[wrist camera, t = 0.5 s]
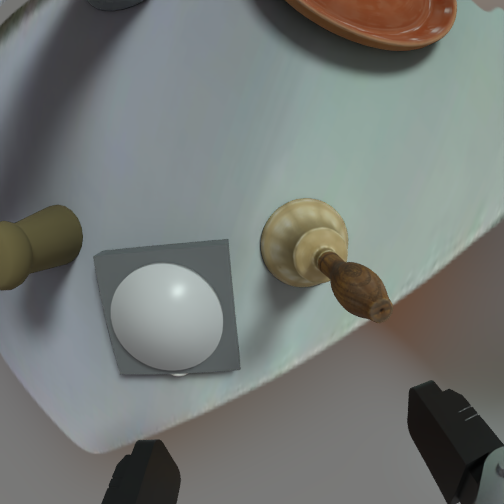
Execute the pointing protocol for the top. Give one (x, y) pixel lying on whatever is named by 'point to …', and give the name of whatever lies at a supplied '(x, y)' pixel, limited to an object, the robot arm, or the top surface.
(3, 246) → the cork
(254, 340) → the top surface
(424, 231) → the top surface
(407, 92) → the top surface
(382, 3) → the saucer
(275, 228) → the hand bell
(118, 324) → the scale
